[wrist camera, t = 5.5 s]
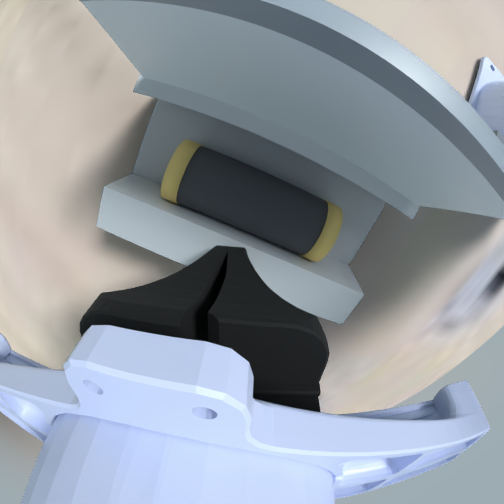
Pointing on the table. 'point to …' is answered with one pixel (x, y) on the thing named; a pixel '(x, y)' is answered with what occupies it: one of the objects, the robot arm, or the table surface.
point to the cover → (322, 88)
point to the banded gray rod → (251, 200)
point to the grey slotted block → (220, 233)
